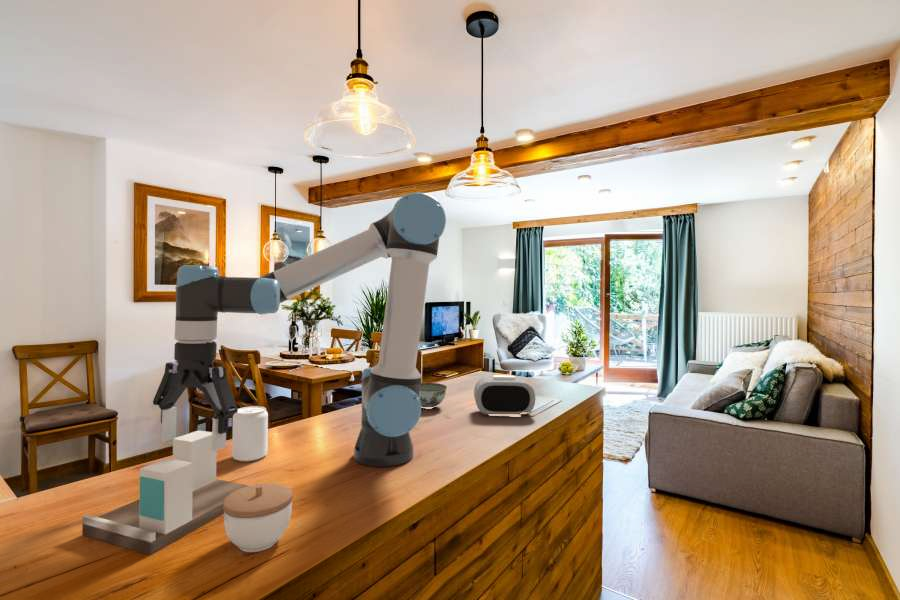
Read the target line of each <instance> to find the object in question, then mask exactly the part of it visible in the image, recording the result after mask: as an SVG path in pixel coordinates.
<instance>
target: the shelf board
mask: <svg viewBox="0 0 900 600" xmlns="http://www.w3.org/2000/svg"><path fill="white" fill-rule="evenodd" d="M247 486H250V485H249V484H243V483H238V482H233V481H229V480H228V481H227V480H222V479H218V478H216V481H214V482H212V483H210V484H208V485H205V486H203V487H201V488H199V489H197V490H195V491H193V492H192V520H191V521H190V522H188V523H186V524H184V525H182V526H180V527H178V528H177V529H175V530H173V531H171V532H169V533H167V534H162V533H158V532H154V531H150V530H146V529H143V528H139V499H136V500H133V501H132V502H129V503H127V504H125V505H122V506H120V507H118V508H115V509H113V510H110V511H109V512H106V513H104V514H102V515H100V516H94V515H91V514H86V515H83V516H82V536H83V537H87V538H90V539H94V540H98V541H101V542H104V543H108V544H111V545H113V546H114V545H115V546H119V547H122V548H124V549H125V548H126V549H129V550H132V551H135V552H140V553H142V554H145V555H146V554H147V555H148V556H152V555H153V554H155V553H157V552H159V551H160V550H162V549H164V548H165V547H167V546H169V545H171V544H172V543H174V542H176V541H178V540H179V539H182V538H183V537H184V536H187V535H189V534H190V533H192V532H194V531H195V530H197V529H200V528H201V527H202V526H205V525H206V524H208V523H209V522H211V521H213V520H215V519H217V518H218V517H220V516H222V515H224V510H223V502H224V500H225V498H226V497H227V496H228V495H229V494H231V493H232V492H234V491H236V490H238V489H241V488H244V487H247Z"/></svg>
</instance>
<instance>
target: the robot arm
mask: <svg viewBox="0 0 900 600" xmlns="http://www.w3.org/2000/svg"><path fill="white" fill-rule="evenodd" d="M446 217H447V216H446V213H445V210H444V207H443V205H441V203H440V202H439V200H438V199H437V198H435V197H434V196H432V195H431V194H428V193H426V192H420V191H418V192H417V191H416V192H411V193H409V194H405V195H403V196H401V197H400V198H399V199H398V200H397V201H396V202H395V204H394V206H393V208H392V209H391V211H390V212H388V213H387V214H386V215H384V216H383V217H382V218H380V219H378V220H376V221H374V222H372V223H370V225H369V226H368V229H366V230H364V231H362V232H359V233H358V234H355V235H353V236H349V237H348V238H346V239H344V240H342V241H339V242H337V243H334V244H332V245H330V246H328V247H325V248H323V249H321V250H319V251H317V252H315V253H312V254H310V255H307V256H305V257H302V258H301V259H299V260H296V261H294V262H291V263H289V264H287V265H285V266H283V267H280V268H278V269H276V270H274V271H272V272H269V273H266V274H264V275H262V276H259V277H241V276H239V277H237V276H222V275H220V270H219V268H218V267H216V266H208V265H191V264H190V265H187V264H186V265H185V264H184V265H182V266H179V268H178V269H177V275H176V286H175V320H174V322H175V323H174V324H175V325H174V339H175V340H176V341H177V342H175V344H174V353H173V355H174V357H173V358H174V360H175V361H170V362H166V363H165V366H164V367H165V368H164V374H163V376H162V378H161V381H160V383H159V386H158V388H157V390H156V393H155V396H154V398H153V401H152V404H153V405H154V406H158V408H159V409H160V424H161V442H164V443H165V442H168V441H170V440H173V439H174V438H177V419H178V418H177V416H178V415H177V414H178V413H177V412H178V411H177V410H178V408H177V407H176V406H177V404H176V402H177V401H178V400H179V399H180V397H181V396H182V394H183V393H184V392H185V390H186V389H187V388H188V387H192V388H195V389H198V391H200V392H202V394H203V395H204V397H205V398H206V401H207V403H208V404H209V406H210V407H211V409H212V411H213V412H214V415H215V416H214V417H212V427H211V428H212V429H211V430H212V431H211V432H212V451H220V450H222V449H224V448H226V444H227V433H228V431H229V419H230V416H232V415H234V414H235V413H237V412H238V409H239V408H238V407H237V404H236V401H235V397H234V395H233V392H232V389H231V386H230V383H229V380H228V378H227V368H226V366H225V365H223V366H216V367H214V363H213V362H214V360H216V358H217V349H218V347H217V346H218V344H217V342H216V341H214V340H216V339H217V338H218V337H217V336H218V333H217V332H218V313H233V314H234V313H235V314H258V315H266V314H276V313H277V312H278V311H279V309H280V304H282V303H284V302H285V301H287V300H291V298H294V297H296V296H298V295H300V294H301V295H302V294H303V293H305V292H308V291H310V290H311V289H314V288H315V287H318V286H321V285H322V284H325V283H328V282H329V281H331V280H333V279H336V278H337V277H340V276H342V275H344V274H347V273H349V272H351V271H353V270H355V269H358V268H360V267H363V266H364V265H366V264H369V263H370V262H373V261H375V260H377V259H380V258H384V259H389V258H391V265H390V272H389V279H388V284H387V285H388V287H387V295H386V302H385V310H384V316H383V317H384V318H383V324H382V332H381V339H380V340H381V341H380V346H379V355H378V361H377V362H378V363H377V364H376V365H374V366H373V367H371V366H370V367H365V368H364V369H363V370H362V375H361V379H360V380H361V425H360V430H359V432H358V435H357V439H356V442H355V445H354V449H353V459H354V461H355V462H357V464H358V463H359V464H360V465H364V466H369V467H379V468H380V467H382V468H385V467H386V468H387V467H394V466H399V465H403V464H405V463H407V462H409V461H410V460H412V459H413V457H414V444H413V441H412V438H411V434H410V431H411V430H412V429H414V428H415V427H416V426H417V424H418V422H419V420H420V419H421V414H422V409H421V403H420V399H419V390H420V383H422V382H421V381H422V374H421V373H420V372H419V370H418V368H417V367H416V366H417V360H418V353H419V345H420V344H419V343H420V337H421V330H422V322H423V316H424V315H423V313H424V307H425V299H426V291H427V283H428V275H429V268H430V264H431V263H432V262H433V261H434V260H435V259H437V257H438V253H439V244H440V237H441V236H442V235H443V233H444V230H445V228H446V224H447V223H446V221H447V218H446Z"/></svg>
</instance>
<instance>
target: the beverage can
mask: <svg viewBox="0 0 900 600" xmlns="http://www.w3.org/2000/svg"><path fill="white" fill-rule="evenodd" d="M237 409H238V412H237V413H235V414H232V451H231V452H232V453H231V454H232V458H233V459H234V460H236V461H238V462H254V461H258V460H259V459H262V458H263V457H265V456H267V454H268V451H269V450H268V439H269V437H268V436H269V435H268V434H269V432H268V431H269V430H268V429H269V413H268V411H267V408H266V407H264V406H259V405H253V406H252V405H250V406H244V407H240V408H237Z"/></svg>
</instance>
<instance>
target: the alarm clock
mask: <svg viewBox="0 0 900 600" xmlns="http://www.w3.org/2000/svg"><path fill="white" fill-rule="evenodd" d="M473 390H474V391H473V395H474V396H473V397H474V400H475V405H476V407H477V410H479V412H480V413H482V414H483V415H487V414H520V413H522V412H530V413H531V412H532V411H533V409H534V408H535V405H536V404H535V403H536V393H535V390H534V388H533V386H532V385H531V384H530V383H529V382H528V381H527V380H526V379H524V378H523V377H517V376H515V375H499V374H496V375H492V376H485V377H482V378H479V379H478V380H477V382H476V383H475V386H474V389H473Z"/></svg>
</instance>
